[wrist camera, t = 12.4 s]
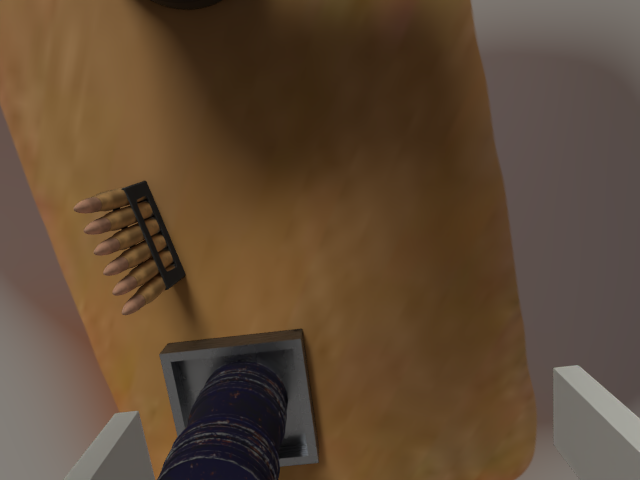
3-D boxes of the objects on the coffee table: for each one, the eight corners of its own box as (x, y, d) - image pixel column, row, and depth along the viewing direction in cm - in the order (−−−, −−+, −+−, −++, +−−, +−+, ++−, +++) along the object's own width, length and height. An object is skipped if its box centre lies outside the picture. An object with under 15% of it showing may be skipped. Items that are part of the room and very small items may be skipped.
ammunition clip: (186, 275, 46) (138, 320, 34) (170, 281, 46) (117, 327, 34) (146, 180, 44) (80, 193, 32) (129, 186, 44) (57, 201, 32)
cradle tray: (167, 343, 47) (159, 354, 45) (302, 328, 47) (300, 338, 44) (193, 459, 51) (186, 475, 48) (318, 447, 50) (318, 462, 48)
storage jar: (287, 358, 47) (270, 454, 32) (291, 436, 49) (277, 560, 35) (197, 360, 47) (139, 457, 33) (205, 438, 49) (154, 562, 35)
